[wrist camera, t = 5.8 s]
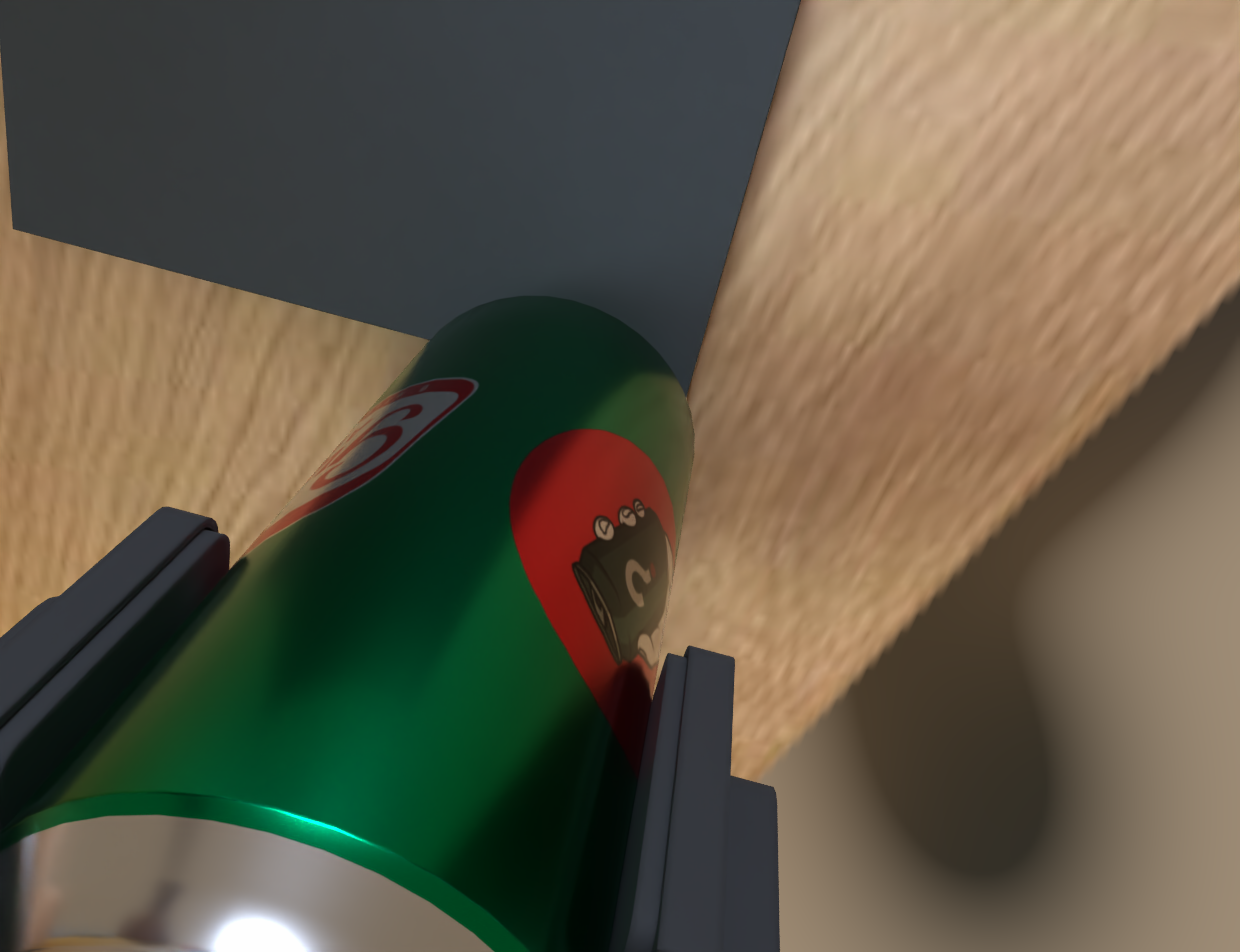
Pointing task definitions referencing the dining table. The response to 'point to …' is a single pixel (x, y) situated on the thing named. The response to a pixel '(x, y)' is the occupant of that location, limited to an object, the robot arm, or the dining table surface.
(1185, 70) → the dining table surface
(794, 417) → the dining table surface
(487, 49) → the mat
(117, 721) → the soda can
